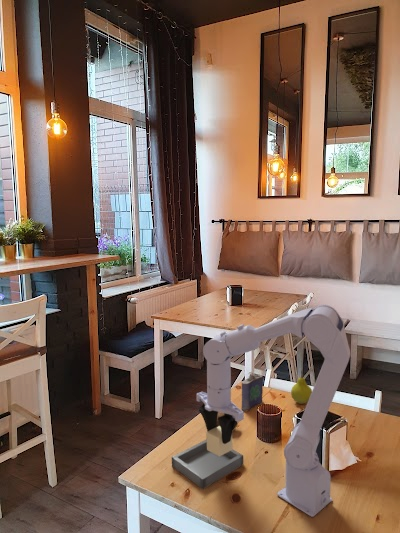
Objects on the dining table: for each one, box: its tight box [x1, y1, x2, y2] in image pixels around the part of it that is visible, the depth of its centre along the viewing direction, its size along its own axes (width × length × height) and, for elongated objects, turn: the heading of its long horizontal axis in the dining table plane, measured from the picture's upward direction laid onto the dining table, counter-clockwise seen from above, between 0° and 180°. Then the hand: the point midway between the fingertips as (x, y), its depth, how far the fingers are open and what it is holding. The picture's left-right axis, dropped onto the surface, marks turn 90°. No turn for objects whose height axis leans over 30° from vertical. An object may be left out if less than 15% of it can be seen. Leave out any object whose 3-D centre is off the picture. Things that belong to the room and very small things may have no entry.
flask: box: [241, 371, 264, 412], centre depth 135 cm, size 10×3×12 cm, turn 134°
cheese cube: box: [205, 426, 234, 456], centre depth 99 cm, size 4×4×4 cm
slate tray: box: [171, 439, 244, 490], centre depth 103 cm, size 12×14×2 cm
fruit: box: [290, 370, 313, 405], centre depth 136 cm, size 7×7×12 cm
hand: (219, 437), depth 99 cm, fingers closed on cheese cube, 4 cm apart
